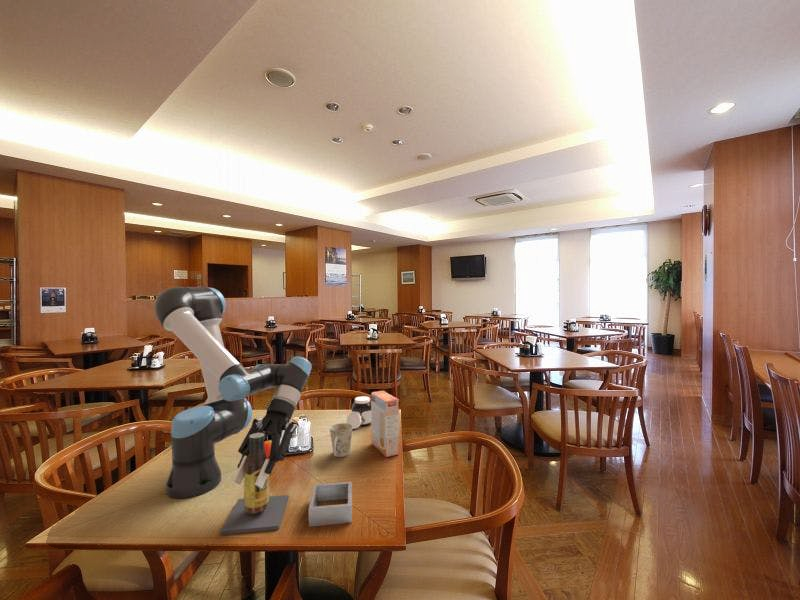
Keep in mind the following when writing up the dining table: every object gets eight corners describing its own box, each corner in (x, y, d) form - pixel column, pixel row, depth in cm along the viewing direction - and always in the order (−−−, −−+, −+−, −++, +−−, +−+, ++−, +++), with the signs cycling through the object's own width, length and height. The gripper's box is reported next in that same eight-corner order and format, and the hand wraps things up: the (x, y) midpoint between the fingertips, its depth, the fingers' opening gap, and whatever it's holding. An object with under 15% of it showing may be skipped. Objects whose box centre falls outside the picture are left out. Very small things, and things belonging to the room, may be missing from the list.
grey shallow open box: (308, 526, 91) (308, 509, 91) (314, 499, 103) (313, 484, 103) (351, 522, 93) (351, 505, 93) (352, 496, 105) (351, 481, 105)
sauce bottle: (257, 517, 92) (256, 442, 92) (239, 512, 95) (237, 438, 94) (274, 503, 99) (273, 432, 98) (256, 499, 101) (255, 429, 100)
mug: (355, 449, 137) (354, 423, 137) (346, 464, 124) (346, 436, 124) (333, 448, 138) (333, 422, 137) (323, 464, 125) (323, 435, 125)
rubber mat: (220, 535, 89) (220, 531, 89) (238, 502, 103) (238, 499, 103) (278, 529, 91) (278, 525, 90) (288, 498, 104) (288, 494, 104)
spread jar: (373, 420, 168) (373, 395, 168) (373, 429, 156) (373, 403, 156) (348, 421, 167) (347, 396, 167) (346, 430, 156) (345, 404, 156)
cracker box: (400, 454, 131) (399, 398, 131) (385, 458, 129) (384, 401, 128) (384, 441, 144) (384, 389, 144) (371, 443, 141) (370, 391, 141)
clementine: (285, 455, 132) (284, 436, 132) (277, 464, 125) (276, 444, 125) (264, 455, 132) (263, 436, 132) (255, 464, 126) (254, 444, 125)
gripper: (316, 412, 108) (285, 494, 93) (262, 407, 114) (225, 484, 98) (306, 400, 103) (272, 485, 88) (251, 395, 108) (209, 474, 93)
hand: (247, 484), depth 93 cm, fingers closed on sauce bottle, 6 cm apart
